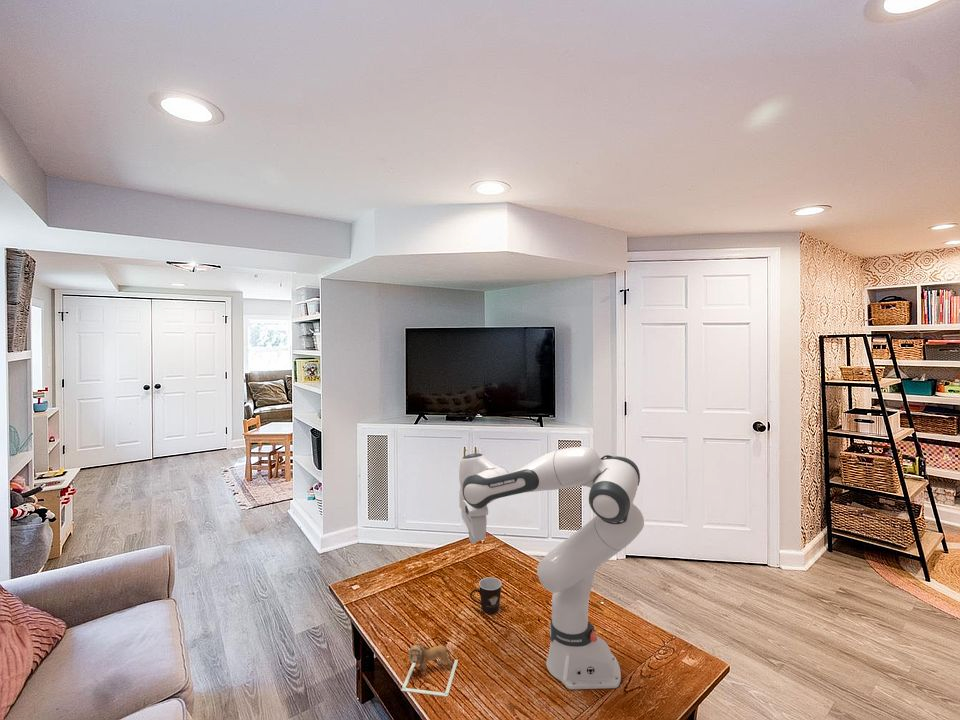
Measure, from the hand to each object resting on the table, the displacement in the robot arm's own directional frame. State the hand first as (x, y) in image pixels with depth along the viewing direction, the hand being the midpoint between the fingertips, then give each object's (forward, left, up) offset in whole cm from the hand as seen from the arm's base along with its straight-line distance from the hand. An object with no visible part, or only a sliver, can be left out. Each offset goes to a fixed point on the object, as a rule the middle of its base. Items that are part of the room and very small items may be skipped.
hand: (472, 541), depth 152 cm
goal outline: (+10, +18, -34) cm, 40 cm away
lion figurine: (+10, +16, -34) cm, 39 cm away
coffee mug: (-2, -17, -34) cm, 38 cm away
